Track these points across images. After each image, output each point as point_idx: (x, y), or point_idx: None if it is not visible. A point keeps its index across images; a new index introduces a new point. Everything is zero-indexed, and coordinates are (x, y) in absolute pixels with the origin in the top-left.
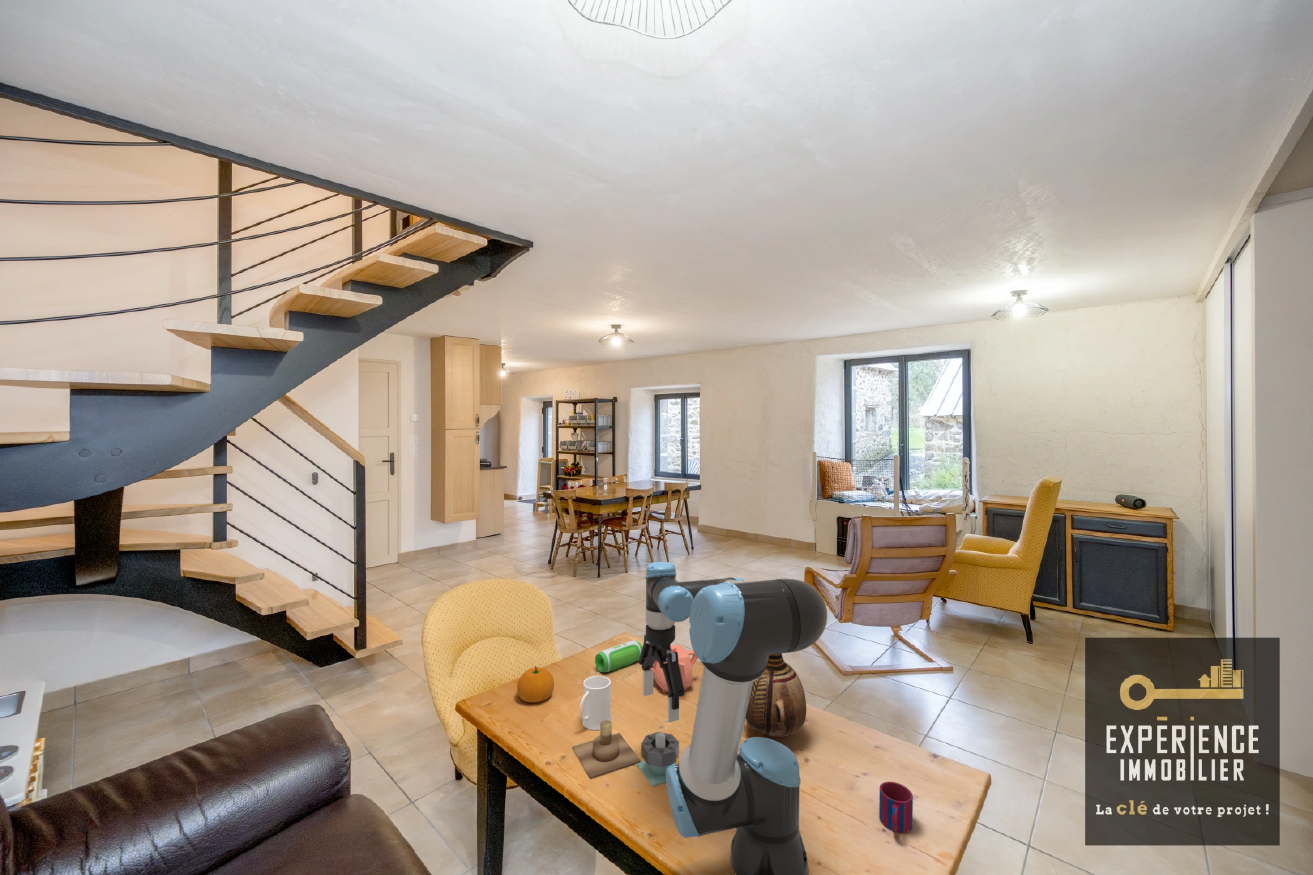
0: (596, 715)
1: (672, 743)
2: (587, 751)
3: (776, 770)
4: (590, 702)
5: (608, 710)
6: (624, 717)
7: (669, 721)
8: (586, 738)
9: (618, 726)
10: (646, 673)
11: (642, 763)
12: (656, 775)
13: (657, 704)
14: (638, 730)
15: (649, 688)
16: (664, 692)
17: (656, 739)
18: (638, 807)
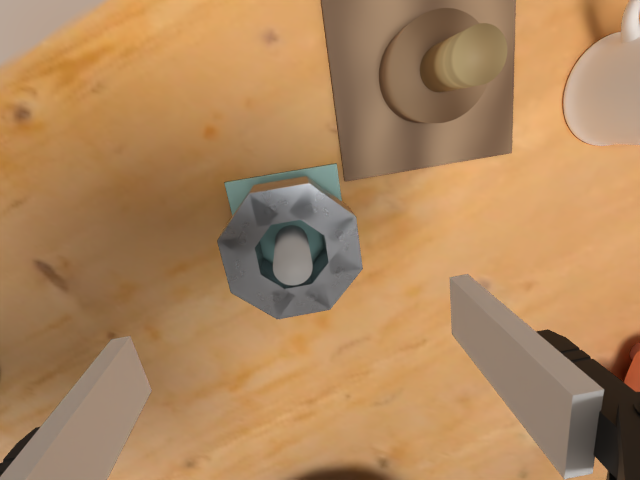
0: (616, 69)
1: (275, 295)
2: (463, 6)
3: None
4: None
5: (619, 128)
6: (584, 193)
7: (110, 344)
8: (541, 25)
9: (549, 160)
10: (553, 401)
11: (331, 182)
12: None
13: (591, 309)
14: (497, 217)
15: (472, 335)
16: (635, 344)
17: (286, 245)
18: (143, 112)
